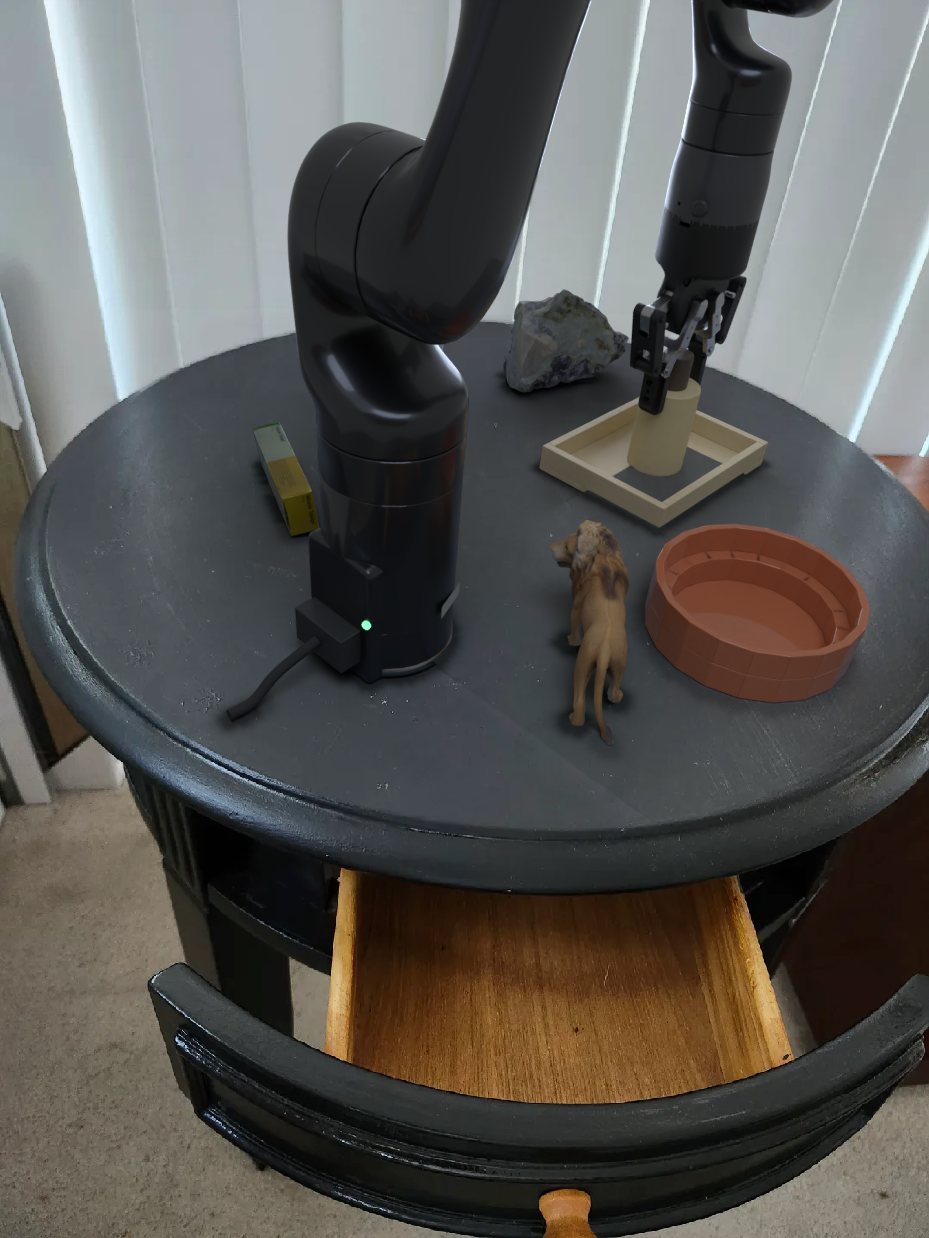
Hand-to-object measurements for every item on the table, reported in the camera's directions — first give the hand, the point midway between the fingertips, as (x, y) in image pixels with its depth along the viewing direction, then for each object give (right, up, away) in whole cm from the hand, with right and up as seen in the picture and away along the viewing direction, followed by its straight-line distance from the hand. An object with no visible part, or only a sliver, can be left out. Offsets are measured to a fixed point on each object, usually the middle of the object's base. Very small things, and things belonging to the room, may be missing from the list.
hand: (668, 400), depth 84 cm
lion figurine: (-10, -23, -17) cm, 31 cm away
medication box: (-34, -10, -4) cm, 35 cm away
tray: (-1, -5, +5) cm, 7 cm away
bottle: (0, -5, +4) cm, 6 cm away
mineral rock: (-8, +6, +17) cm, 20 cm away
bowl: (+3, -21, -13) cm, 25 cm away
